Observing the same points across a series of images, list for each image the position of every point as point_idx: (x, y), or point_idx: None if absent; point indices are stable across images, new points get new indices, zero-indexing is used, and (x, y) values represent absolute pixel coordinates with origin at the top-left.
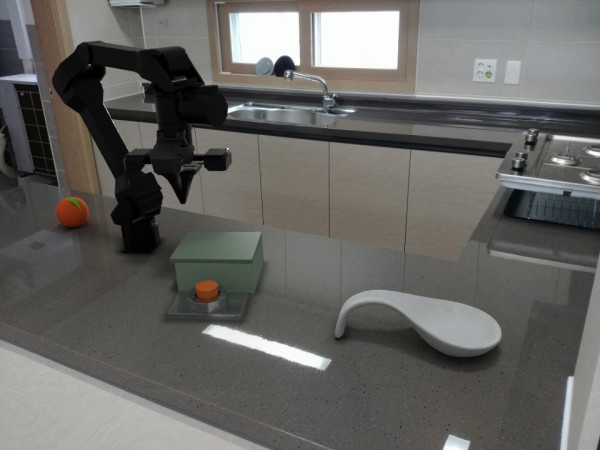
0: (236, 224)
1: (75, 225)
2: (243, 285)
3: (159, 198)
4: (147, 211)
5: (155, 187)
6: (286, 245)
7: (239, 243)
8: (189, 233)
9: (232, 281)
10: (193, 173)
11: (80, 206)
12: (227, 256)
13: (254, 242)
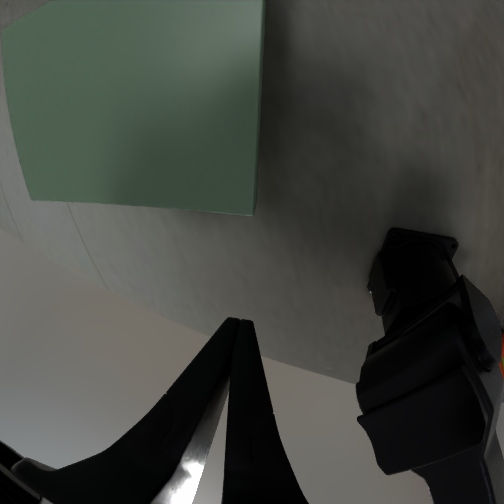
0: (206, 327)
1: (502, 334)
2: None
3: (369, 383)
4: (414, 330)
5: (380, 422)
6: (79, 235)
7: (43, 116)
8: (239, 196)
9: None
10: (11, 468)
11: (500, 368)
12: (50, 19)
13: (18, 132)
